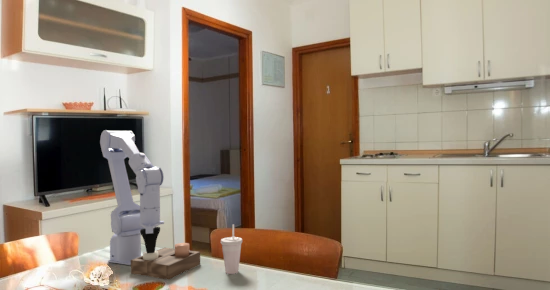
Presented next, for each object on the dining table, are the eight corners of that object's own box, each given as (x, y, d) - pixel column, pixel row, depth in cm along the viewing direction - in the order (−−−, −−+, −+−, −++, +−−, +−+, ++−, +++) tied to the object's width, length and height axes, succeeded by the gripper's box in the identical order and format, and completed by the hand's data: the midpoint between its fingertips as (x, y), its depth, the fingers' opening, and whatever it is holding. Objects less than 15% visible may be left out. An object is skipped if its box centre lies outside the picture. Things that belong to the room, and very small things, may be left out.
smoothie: (239, 276, 111) (238, 227, 111) (217, 275, 112) (217, 226, 112) (245, 269, 117) (244, 222, 117) (225, 268, 119) (224, 222, 119)
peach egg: (171, 256, 119) (171, 245, 119) (180, 253, 123) (180, 242, 123) (183, 258, 117) (183, 247, 117) (192, 254, 121) (192, 243, 121)
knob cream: (139, 265, 116) (139, 253, 116) (150, 260, 120) (150, 249, 120) (151, 266, 114) (151, 255, 114) (161, 262, 118) (161, 251, 118)
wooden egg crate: (130, 273, 115) (130, 260, 115) (165, 259, 128) (164, 247, 128) (168, 279, 109) (168, 265, 109) (200, 264, 122) (200, 251, 122)
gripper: (163, 210, 111) (164, 257, 111) (164, 203, 125) (164, 245, 125) (137, 211, 109) (138, 260, 109) (140, 204, 123) (141, 247, 123)
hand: (150, 252), depth 117 cm, fingers closed, pressing on knob cream
